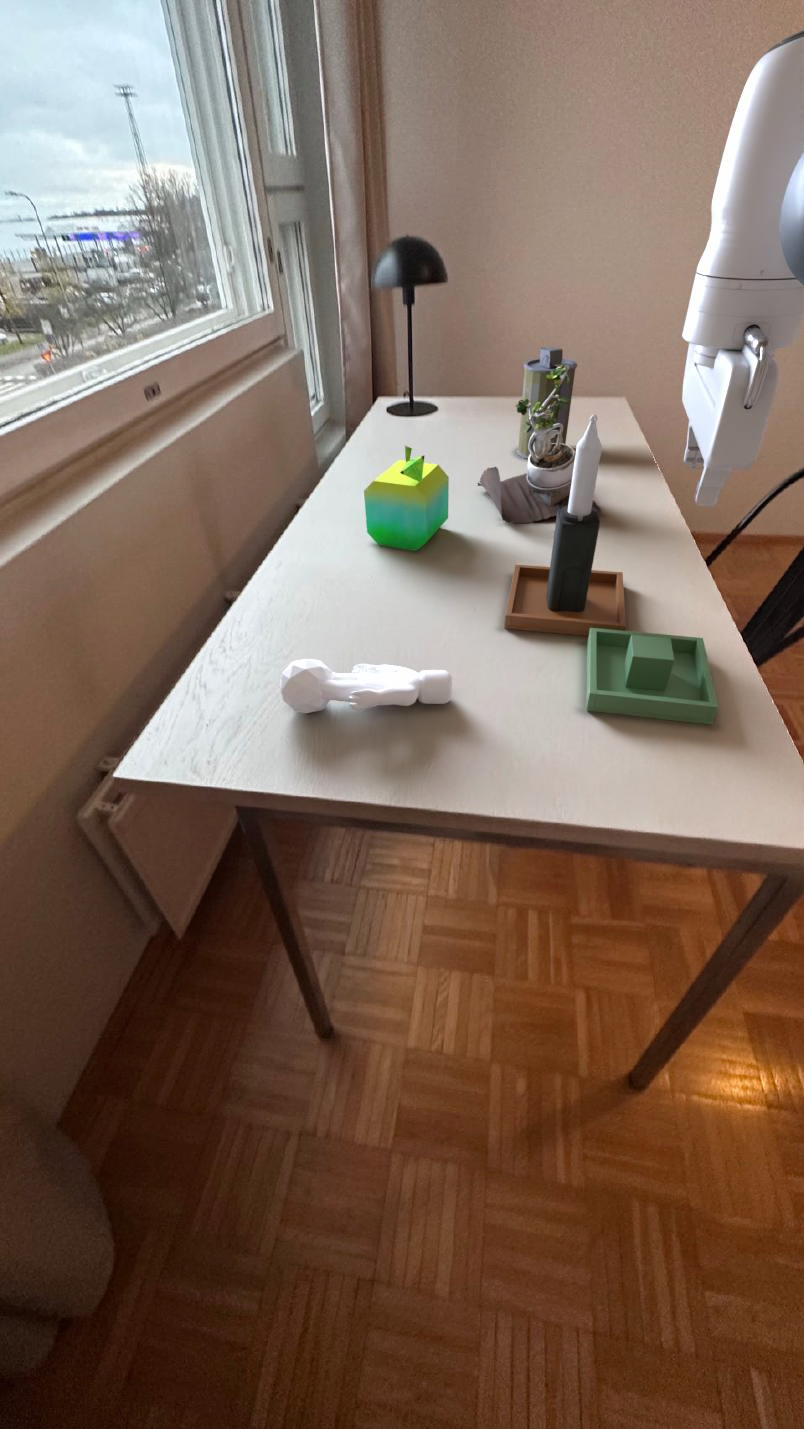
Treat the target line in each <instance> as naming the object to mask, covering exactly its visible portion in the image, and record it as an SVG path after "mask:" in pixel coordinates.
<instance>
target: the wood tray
mask: <svg viewBox="0 0 804 1429" xmlns="http://www.w3.org/2000/svg"><path fill="white" fill-rule="evenodd" d="M549 572H550V566H544V565H543V566H542V565H530V564H529V565H528V564H527V565H526V564H515V565H514V569H513V573H512V580H511V585H510V589H509V595H508V599H507V605H506V611H505V616H504V626H503V627H504V629H506V630H517V631H529V632H540V633H550V634H561V635H572V636H581V637H582V636H584V637H589V632H590V628H596V629H597V628H598V629H609V630H621V631H626V628H627V619H626V618H627V617H626V606H625V604H626V603H625V592H624V591H625V590H624V576H623V575H624V574H623V572H622V571H612V570H611V571H609V570H597V569H592V571H591V576H590V582H589V587H588V593H587V599H586V604H585V609H584V610H583V611H581V612H575V611H558V612H555V611H551V610H549V609H548V606H547V599H546V595H547V587H548V579H549Z"/></svg>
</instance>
